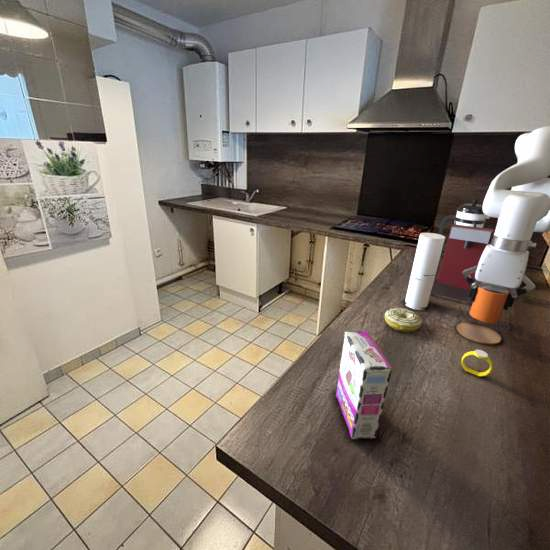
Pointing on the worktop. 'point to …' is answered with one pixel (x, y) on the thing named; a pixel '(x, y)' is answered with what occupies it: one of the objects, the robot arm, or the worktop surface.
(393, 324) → the decorated donut
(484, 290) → the cup
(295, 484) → the worktop surface
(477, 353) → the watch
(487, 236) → the coffee maker
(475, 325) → the coaster
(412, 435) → the worktop surface
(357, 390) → the candy bar box
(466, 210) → the coffee press
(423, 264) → the cylindrical container
